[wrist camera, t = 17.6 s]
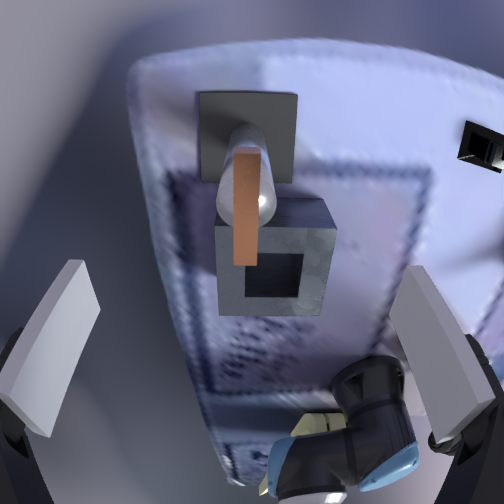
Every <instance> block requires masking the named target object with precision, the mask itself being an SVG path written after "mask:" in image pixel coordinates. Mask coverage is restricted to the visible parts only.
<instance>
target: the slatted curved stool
mask: <svg viewBox="0 0 504 504" xmlns="http://www.w3.org/2000/svg"><path fill="white" fill-rule="evenodd" d="M347 427H348V423H347V418H346V416H345V415H344V413H324V414H322V413H306V414H304V415H303V416H302V418H301V419H300V421H299V422H298V424H297V425H296V427H295V428H294V430H293V431H292V432H291V434H290V435H291V436H292V437H295V436H296V435H307V434H314V433H320V432H326V431H332V430H337V429H342V428H347ZM269 455H270V454H269ZM266 492H268V479H267V473H266V476H265V478H264V480H263V481H262V483H261V484H260V485H259V495H262V494H264V493H266Z"/></svg>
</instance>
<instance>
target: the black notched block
mask: <svg viewBox="0 0 504 504" xmlns="http://www.w3.org/2000/svg"><path fill="white" fill-rule="evenodd" d="M457 159H459V160H462V161H465V162H469V163H472V164H475V165H478V166H481V167H484V168H487V169H489V170H492V171H495V172H498V173H501V171H502V170H504V135H502V134H500V133H498V132H495V131H493V130H490V129H488V128H486V127H483V126H480V125H478V124H475V123H473V122H470V121H467V120H466V123H465V127H464V132H463V136H462V141H461V145H460V149H459V153H458V157H457Z"/></svg>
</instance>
